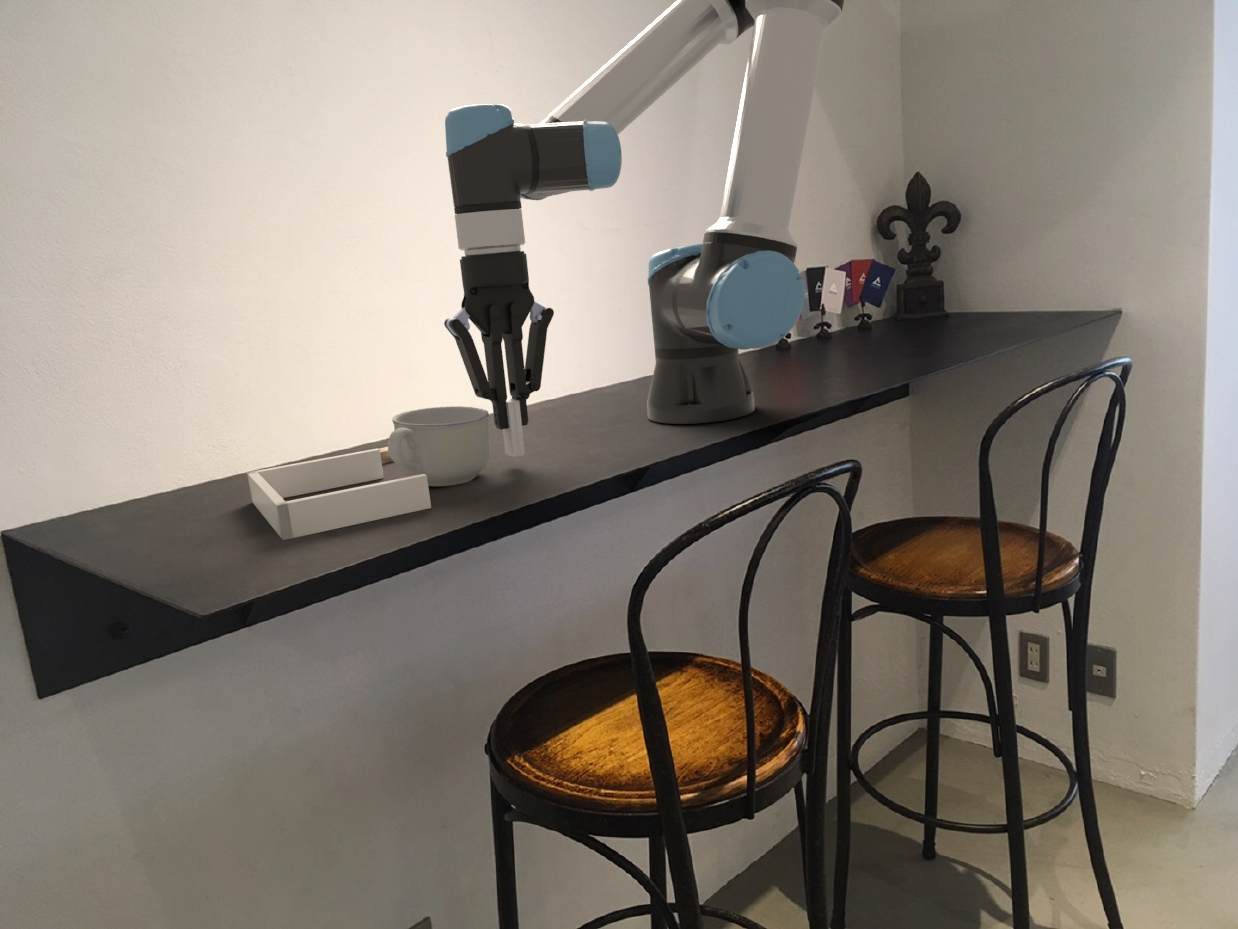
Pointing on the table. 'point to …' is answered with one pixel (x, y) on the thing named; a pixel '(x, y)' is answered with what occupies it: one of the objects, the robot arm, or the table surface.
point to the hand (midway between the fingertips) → (515, 454)
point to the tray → (333, 494)
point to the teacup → (441, 443)
